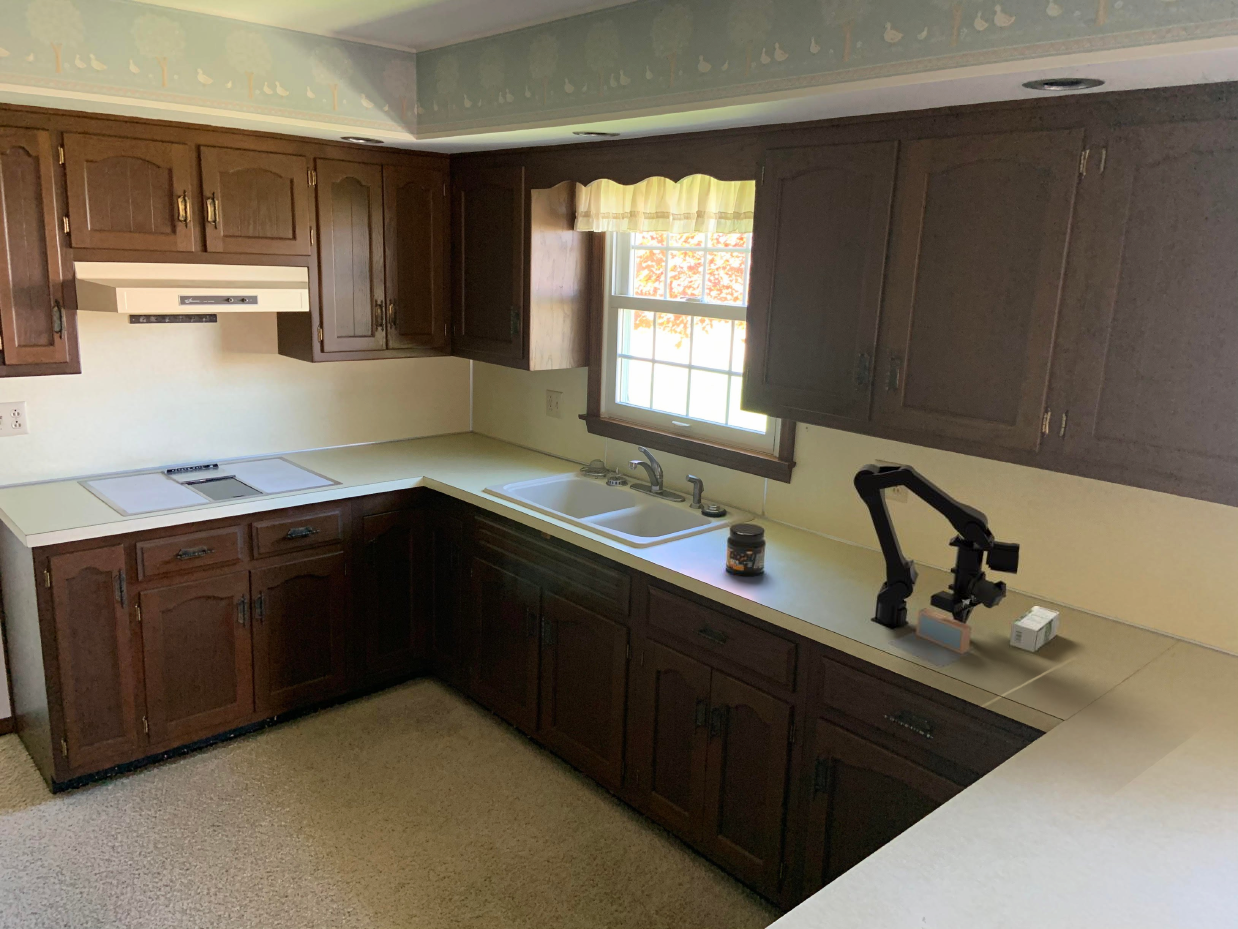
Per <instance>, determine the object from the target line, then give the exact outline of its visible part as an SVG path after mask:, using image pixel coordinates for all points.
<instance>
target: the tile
mask: <svg viewBox="0 0 1238 929" xmlns="http://www.w3.org/2000/svg"><path fill="white" fill-rule="evenodd" d="M917 614H918V616H917V622H916V628H915V631H916V635H919V636H921V637H923V638H926V639H928V640H930V641H933V642H935V643H937V644H940V645H942V646H944V647H947V648H949V649H951V650H954V651H956V652H958V653H961V654H963V653H965V652H967V651H970V650H969V649H970V641H971V634H972V626H971V625H969V624H967V623H966V624H964V623H962V622H959V621H957V620H954V618H953V617H952V618H951V617H949V616H946V615H943V614H941V613H939V612H937V611H934V610H931V609H929V608H927V607H925V608H922V609H919V610H918V613H917Z"/></svg>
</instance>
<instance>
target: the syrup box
mask: <svg viewBox="0 0 1238 929" xmlns="http://www.w3.org/2000/svg"><path fill="white" fill-rule="evenodd" d="M1059 619H1060V612H1059V611H1057V610H1053V609H1050V608H1047V607H1042V606H1038V605H1035V606H1033V607H1032V608H1030V609H1029V610H1028V611H1026V612H1025V613H1024V614H1023V615H1021V616H1020V617H1019V618H1017V619H1016V620H1015V621H1012V622H1011V631H1010V638H1009V646H1014V647H1016V648H1020V649H1023V650H1025V651H1028V652H1032V653H1036V652H1037V651H1038V650H1039V649H1041V647H1043V646H1044V645H1045V644H1047V643H1048V642H1049V641H1051V640H1052V639H1053V638H1054V637H1055V636H1057V634H1058V628H1059Z"/></svg>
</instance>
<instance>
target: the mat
mask: <svg viewBox="0 0 1238 929" xmlns="http://www.w3.org/2000/svg"><path fill="white" fill-rule="evenodd" d="M887 643H888V644H889V645H891V646H893V647H896V648H897V649H899V650H900V649H901V650H902V651H905V652H907V653H909V654H911V655H913V656H916V657H918V658H920V659H922V660H924V661H927V662H928V663H931V664H933V665H936V666H937V667H940V668H942V667H945V666H947V665H949V664H952V663H954V662H956V661H958V660H960V659H963V658H964V657H968V656H969V655H971V654H973V652H972V651H970V650H968V651H967V652H965V653H963V654H961V653H958V652H956V651H954V650H951V649H949V648H947V647H944V646H942V645H940V644H937V643H935V642H933V641H930V640H928V639H926V638H923V637H921V636H919V635H916V630H915V631H913V632H911V633H908V634H906V635H903V636H901V637H898V638H896V639H893V640H890V641H888V642H887Z"/></svg>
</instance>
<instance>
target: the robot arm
mask: <svg viewBox="0 0 1238 929" xmlns="http://www.w3.org/2000/svg"><path fill="white" fill-rule="evenodd" d="M853 486H854V488H855V490H856V492H857V493H858V495H859V498H860V500H862V501H863V503H864V504H865V506H866V507H867V509H868V512H869V515H870V518H871V521H872V525H873V526H874V530H875V533H876V536H877V539H878V542H879V545H880V549H881V552H882V555H883V557H884V561H885V574H886V575H885V576H886V580H885V581H884V582H882V585H881V586H880V589H879V591H878V593H877V595H876V603H875V612H874V613H875V614H874V617H871V618H870V621H872V622H873V623H876V624H879V625H880V626H882V627H885V628H888V629H889V630H895V629H898V628H900V627H902V626H905V625H907V624H909V621H907V616H908V608H907V600H906V599H908V598H910V597H911V596H912V594H913V593H914V590H915V589H916V588H915V587H916V585H917V582H918V581H917V580H918V578H919V577H918V576H919V573H918V572H917V570H916V567H915V560H914V559H911V560H907V559H906V557H905V556H904V554H903V551H902V548H901V545H900V542H899V539H898V536H897V533H896V529H895V526H894V524H893V519H892V517H891V514H890V511H889V507H888V505H887V501H886V489H889V488H893V487H894V488H895V487H899V486H903V487H905V488H906V489H908V490H910V491H911V493H913V494H914V495H916V497H918V498H920V499H921V500H923V502H925V503H926V504H928V505H929V506H930V507H932V508H933V509H934V510H935V511H937V512H938V513H940V514H941V515H942V516H944V517H945V518H946V519H947V521H948V522H949V524H950V525H951V526H952V528H953V529H954V530H955V531H956V532H957V534H956V535H955V536H954V537H952V538H950V540H949V542H948V546H950V547H954V548H957V549H956V556H955V563H954V566H953V567H950V570H949V571H950V573H951V574H953V577H952V578H953V580H952V583H951V584H948V588H947V590H950V591H952V593H951V592H949V591H946V590H941V591H938V592H936V593H933V594H932V595H930V599H929V604H930V606H932V607H934V608H937V609H939V610H942V611H944V612H947V613H950V614H951V615H952V619H954V620H957V621H959V622H962V623H964V624H967V621H968V620H969V618H970V616H971V614H972V612H973V611H974V609H975V608H976V607H978V606H980V605H983V606H984V607H985V608H988V609H992V608H994V607H996V606H999V605H1000V603H1001V601H1002V599H1004V598H1006V597H1007V595H1006V594H1007V583H1005V581H1003V580H999V581H997V582H993V581H991V580H988V579H986V578H987V574H986V571H984V570H982V569H983V568H982V567H983V564H984V562H983V561H984V555H985V552H986V558H985V566H988V567H987V568H988V569H990V571H994V572H1001V573H1006V574H1011V575H1017V574H1018V568H1019V564H1020V563H1019V561H1020V547H1021V545H1020V543H1016V542H1004V541H997V540H996V538H995V535H994V534H993V532H992V530H990V528H989V521H988V517H987V515H986V514H985V513H983V512H982V511H981V510H978V509H976V508H974V507H973V506H971V505H968V504H965V503H962V502H960V501H958V500H956V499H955V498H954V497H952V496H951V495H949V494H948V493H947V492H945V490H943V489H941V488H940V487H938V486H937V485H936V484H934V483H933V482H932V481H931V480H929V479H928V478H927V477H925V476H924V475H922V474H921V473H920V472H918V471H917V470H916V469H915V467H913V466H912V465H909V464H905V465H881V466H880V465H879V466H878V465H876V464H874V463H868V464H865V465H862V467H860V469H859V470H857V473H856V474H855V475H854V478H853Z"/></svg>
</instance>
